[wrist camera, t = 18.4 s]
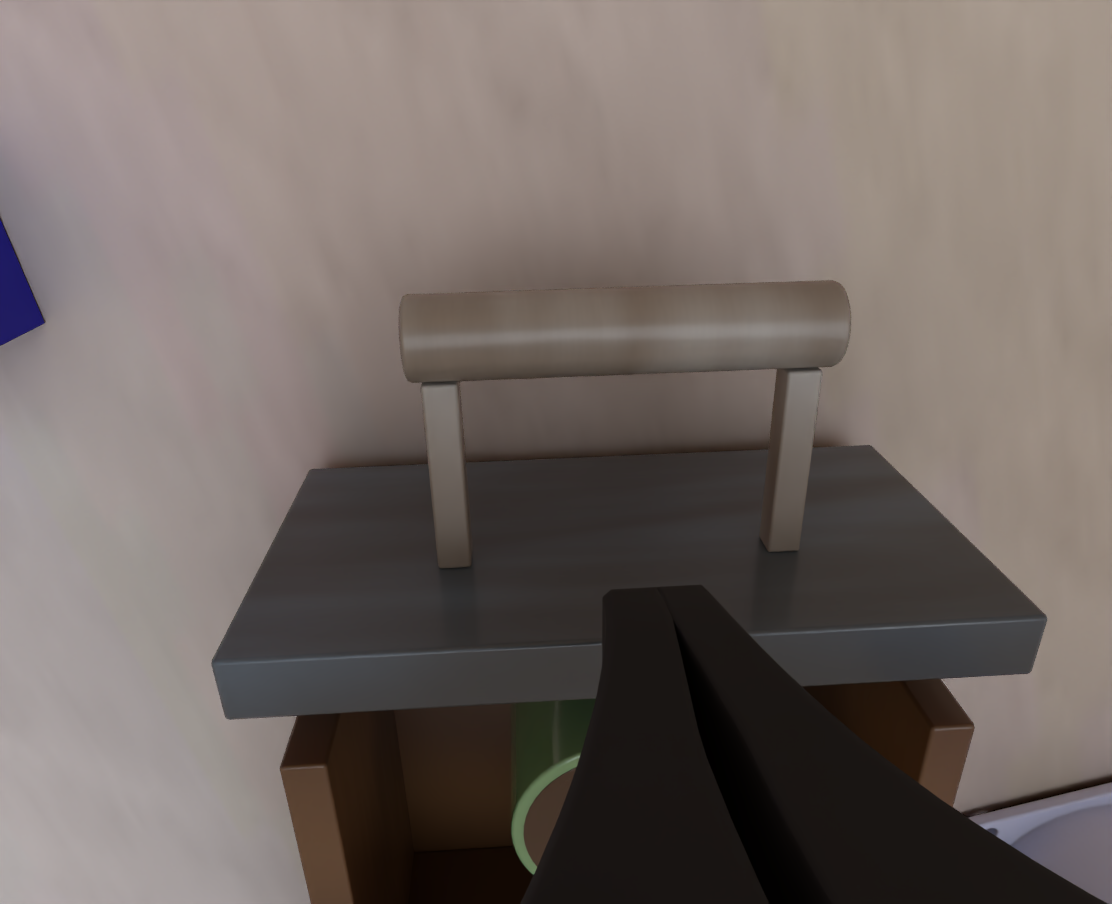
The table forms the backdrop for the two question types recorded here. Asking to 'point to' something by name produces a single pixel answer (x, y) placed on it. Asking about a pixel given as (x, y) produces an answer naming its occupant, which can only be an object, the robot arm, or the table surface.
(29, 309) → the blue cradle bracket
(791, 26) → the table surface
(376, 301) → the table surface
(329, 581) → the drawer
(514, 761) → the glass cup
